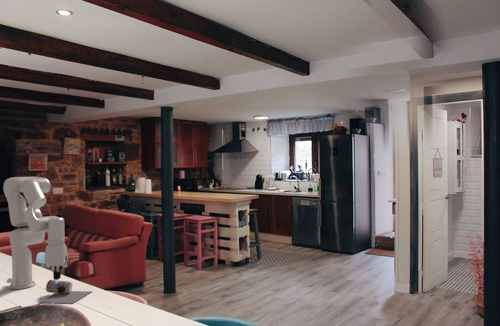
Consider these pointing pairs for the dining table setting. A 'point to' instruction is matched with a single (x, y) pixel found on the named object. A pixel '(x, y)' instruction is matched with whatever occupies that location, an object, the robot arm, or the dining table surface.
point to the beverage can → (58, 286)
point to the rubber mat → (65, 297)
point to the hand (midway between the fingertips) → (57, 279)
